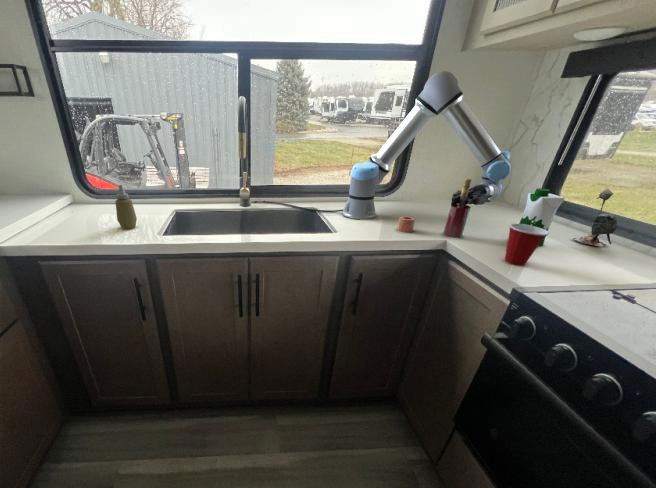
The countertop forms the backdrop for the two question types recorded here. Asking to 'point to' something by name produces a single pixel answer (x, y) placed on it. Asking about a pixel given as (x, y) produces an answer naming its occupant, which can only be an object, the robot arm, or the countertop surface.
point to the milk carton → (541, 209)
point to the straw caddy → (406, 224)
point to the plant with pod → (601, 224)
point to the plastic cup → (523, 242)
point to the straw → (465, 190)
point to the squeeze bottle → (125, 210)
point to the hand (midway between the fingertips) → (456, 202)
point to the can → (456, 221)
